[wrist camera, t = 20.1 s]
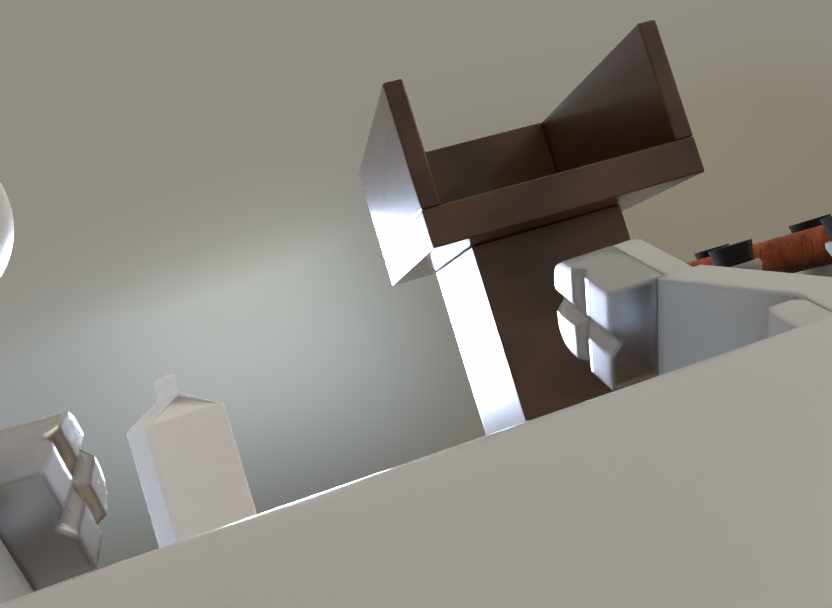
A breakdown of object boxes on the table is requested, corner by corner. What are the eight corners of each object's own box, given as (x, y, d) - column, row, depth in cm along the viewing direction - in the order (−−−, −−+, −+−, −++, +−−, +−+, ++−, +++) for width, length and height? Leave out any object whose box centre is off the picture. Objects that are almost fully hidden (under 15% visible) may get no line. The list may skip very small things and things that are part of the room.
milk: (220, 694, 46) (129, 385, 46) (194, 672, 51) (111, 393, 51) (298, 647, 49) (212, 361, 50) (267, 631, 54) (188, 371, 55)
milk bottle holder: (1108, 598, 29) (962, 173, 30) (588, 506, 60) (524, 302, 61) (1260, 435, 38) (1147, 114, 39) (741, 429, 69) (684, 253, 70)
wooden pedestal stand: (618, 850, 24) (382, 82, 25) (515, 688, 36) (358, 172, 37) (884, 722, 26) (655, 18, 27) (704, 609, 38) (549, 123, 39)
